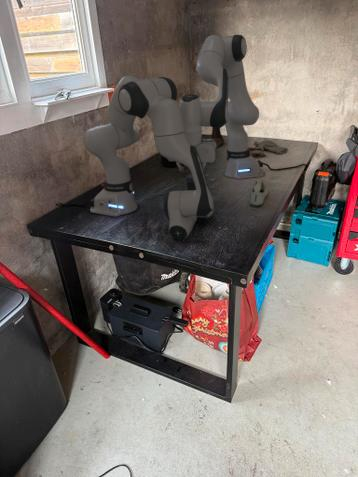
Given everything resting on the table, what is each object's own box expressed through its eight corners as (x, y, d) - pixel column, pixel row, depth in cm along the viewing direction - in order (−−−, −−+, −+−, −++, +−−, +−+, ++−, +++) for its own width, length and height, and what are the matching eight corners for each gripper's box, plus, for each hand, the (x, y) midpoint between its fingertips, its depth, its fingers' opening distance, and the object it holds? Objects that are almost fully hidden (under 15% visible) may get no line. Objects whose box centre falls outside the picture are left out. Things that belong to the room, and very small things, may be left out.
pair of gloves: (252, 159, 212) (252, 151, 209) (231, 150, 233) (231, 143, 230) (289, 152, 222) (290, 144, 219) (266, 144, 242) (267, 137, 240)
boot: (224, 140, 260) (225, 113, 250) (221, 148, 240) (222, 119, 230) (213, 140, 262) (213, 113, 252) (210, 148, 242) (209, 119, 232)
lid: (197, 177, 145) (197, 173, 144) (200, 181, 140) (200, 177, 139) (185, 179, 144) (185, 174, 143) (187, 183, 139) (187, 178, 138)
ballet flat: (269, 188, 169) (270, 173, 165) (265, 208, 149) (266, 191, 145) (252, 187, 171) (253, 172, 167) (246, 206, 151) (247, 190, 147)
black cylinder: (197, 209, 152) (196, 174, 143) (200, 214, 148) (199, 178, 139) (187, 210, 151) (185, 175, 143) (189, 215, 147) (188, 179, 139)
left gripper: (211, 209, 132) (216, 195, 144) (163, 206, 137) (171, 193, 148) (211, 223, 135) (216, 208, 147) (164, 220, 140) (172, 206, 152)
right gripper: (217, 137, 133) (217, 170, 140) (169, 136, 138) (170, 168, 145) (215, 140, 128) (214, 175, 135) (164, 140, 133) (166, 173, 140)
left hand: (193, 201), depth 148 cm, fingers closed on black cylinder, 5 cm apart
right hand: (191, 171), depth 140 cm, fingers open, 8 cm apart
